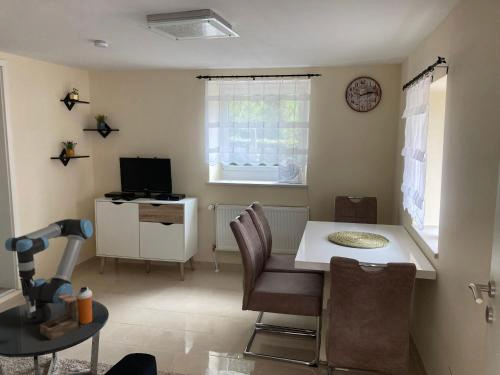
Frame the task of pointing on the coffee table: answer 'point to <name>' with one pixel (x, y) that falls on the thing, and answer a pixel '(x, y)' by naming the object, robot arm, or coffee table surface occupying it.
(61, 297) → the socket block
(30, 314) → the peg
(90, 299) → the shaker bottle
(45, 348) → the coffee table surface
